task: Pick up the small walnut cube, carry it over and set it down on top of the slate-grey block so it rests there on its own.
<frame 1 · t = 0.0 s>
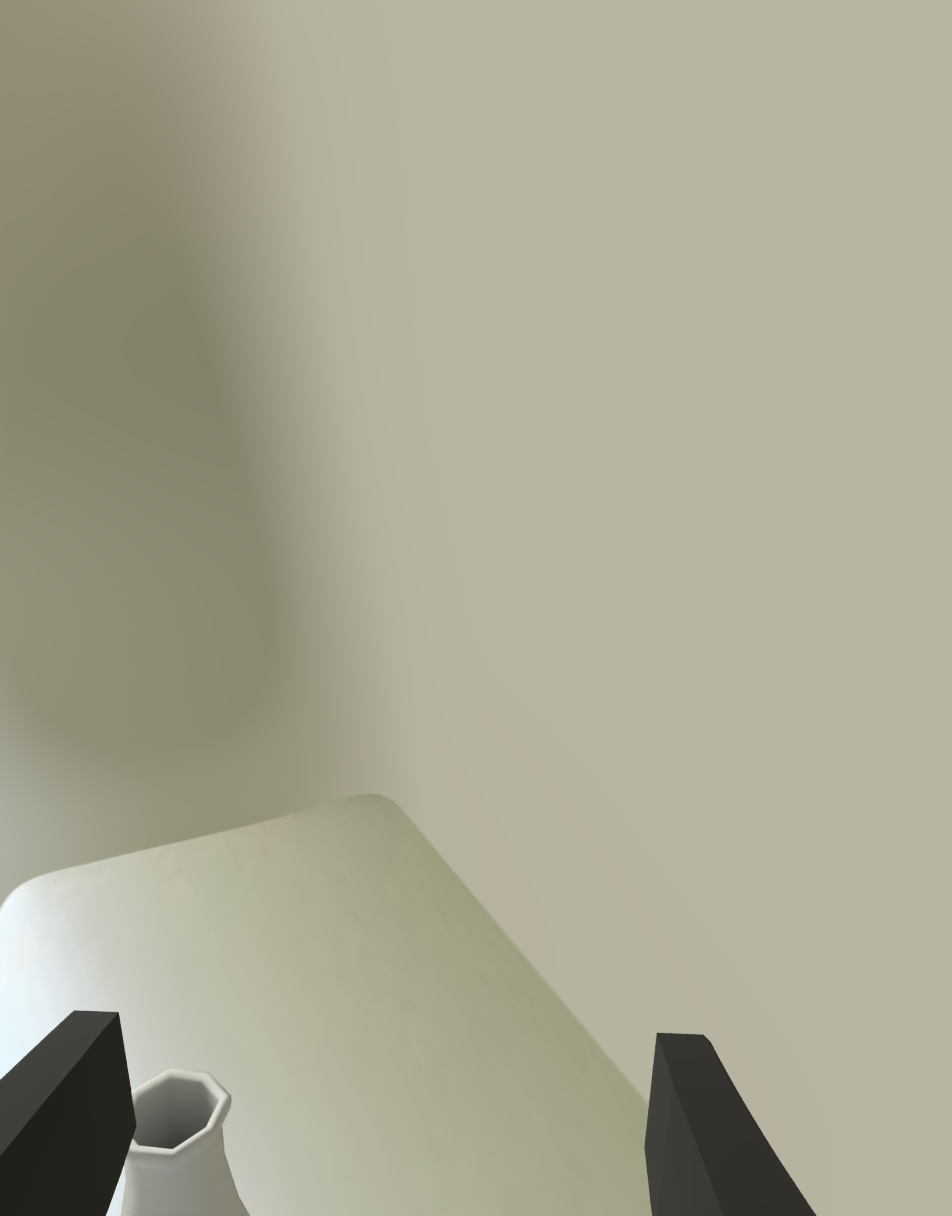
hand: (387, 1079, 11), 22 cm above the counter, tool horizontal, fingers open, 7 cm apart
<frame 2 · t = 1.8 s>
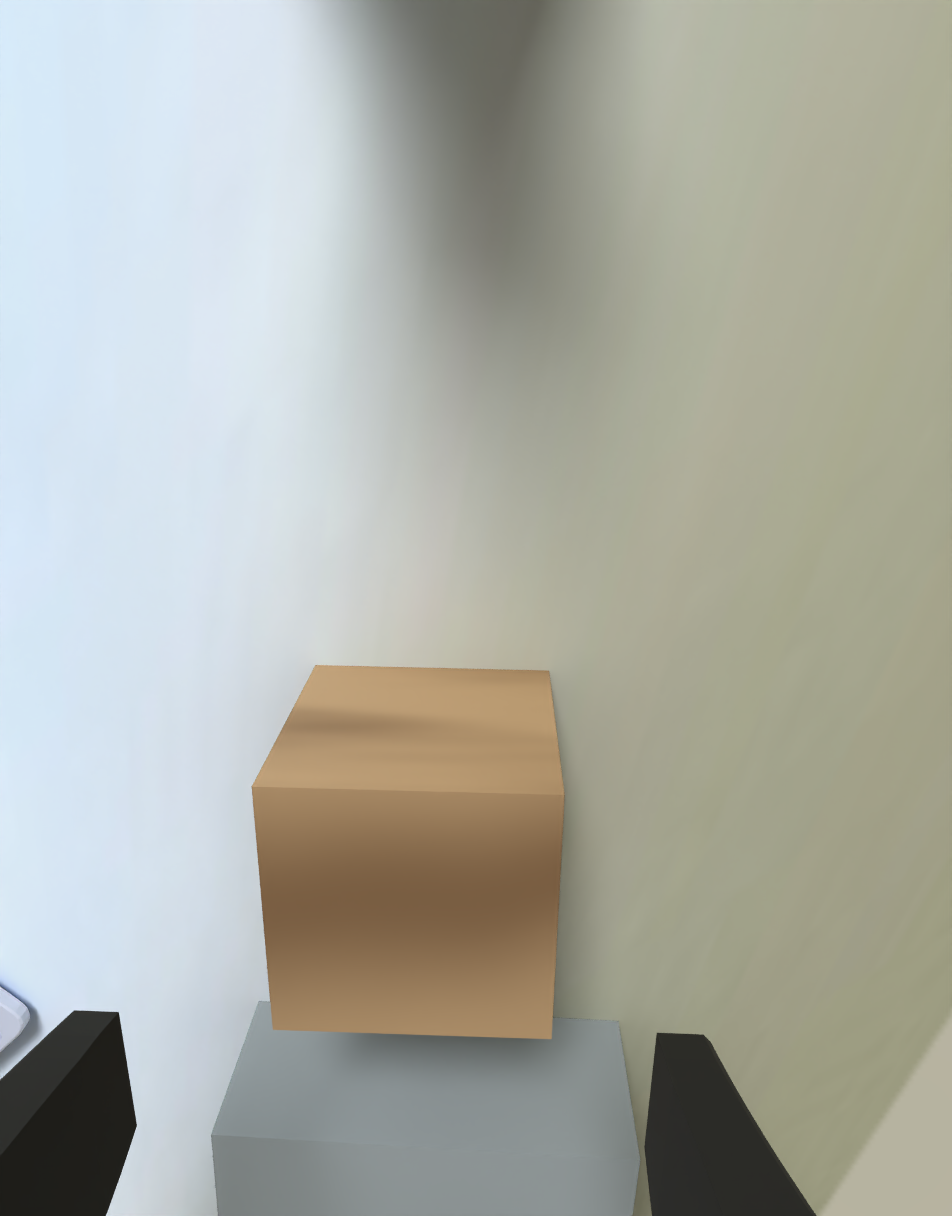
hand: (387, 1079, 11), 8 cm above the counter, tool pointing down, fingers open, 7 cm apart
walnut cube: (432, 769, 19), on the counter
slate block: (434, 1132, 23), on the counter
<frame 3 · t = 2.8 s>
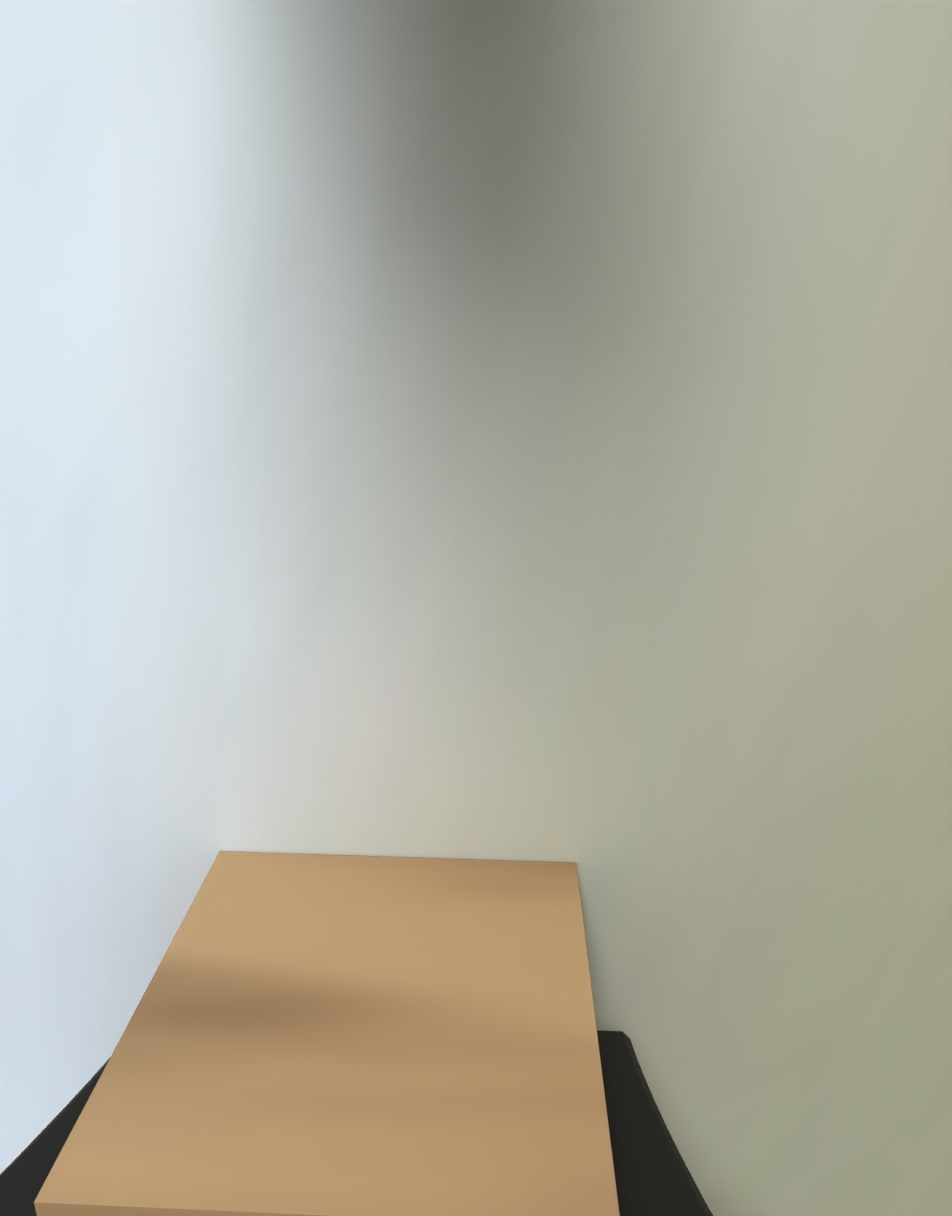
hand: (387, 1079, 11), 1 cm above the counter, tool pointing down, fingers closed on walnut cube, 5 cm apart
walnut cube: (399, 998, 13), on the counter, touching gripper
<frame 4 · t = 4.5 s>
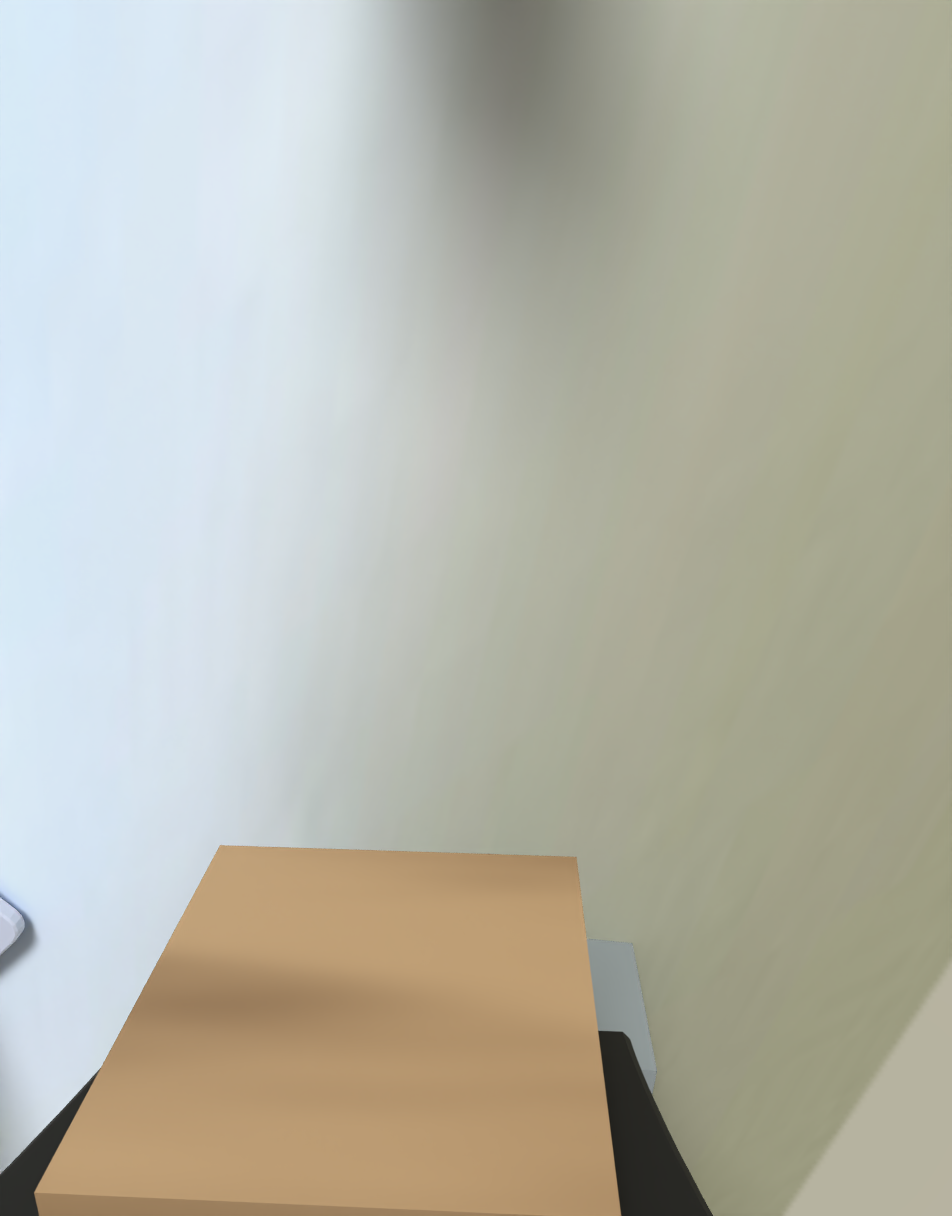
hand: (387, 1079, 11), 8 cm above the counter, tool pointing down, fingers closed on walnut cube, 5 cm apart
walnut cube: (400, 992, 13), point 7 cm above the counter, touching gripper
slate block: (436, 1055, 23), on the counter
when the fingers open (7 cm above the counter, at t = 6.3 s): walnut cube drops 2 cm, resting on slate block.
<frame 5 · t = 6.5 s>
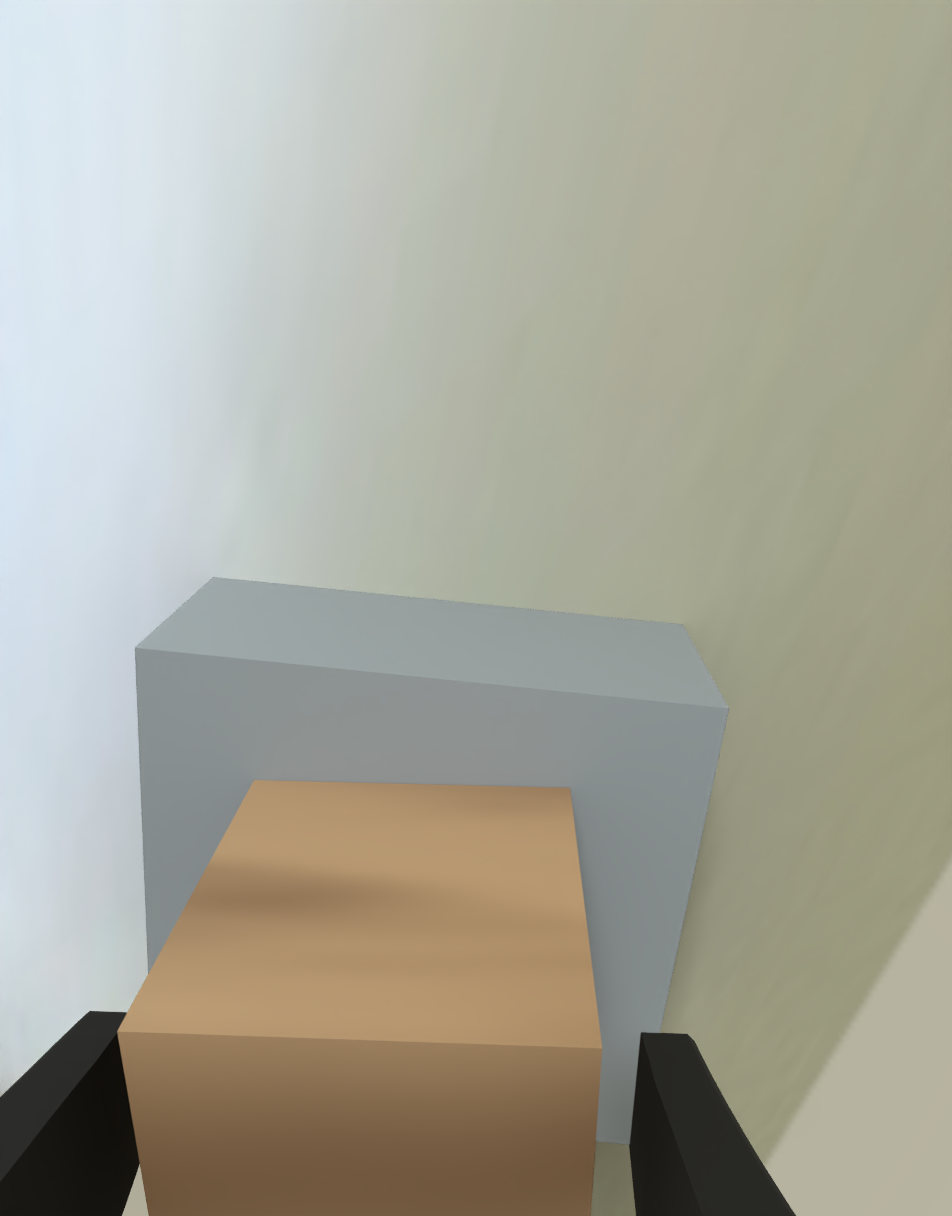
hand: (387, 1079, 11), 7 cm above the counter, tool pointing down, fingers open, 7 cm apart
walnut cube: (414, 914, 14), point 4 cm above the counter, touching slate block
slate block: (431, 794, 18), on the counter, touching walnut cube
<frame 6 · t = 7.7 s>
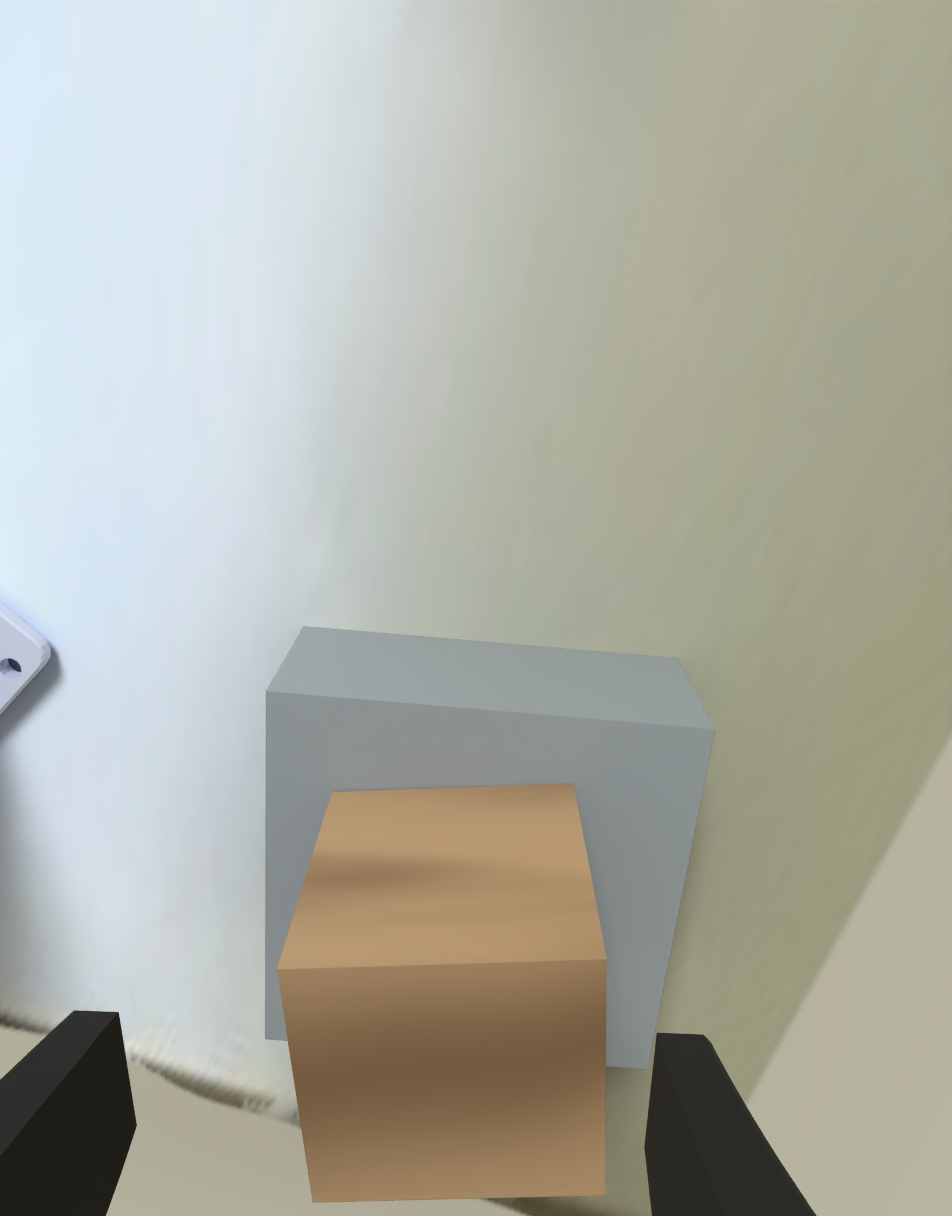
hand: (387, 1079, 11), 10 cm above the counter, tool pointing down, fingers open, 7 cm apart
walnut cube: (458, 888, 18), point 4 cm above the counter, touching slate block
slate block: (475, 796, 22), on the counter, touching walnut cube
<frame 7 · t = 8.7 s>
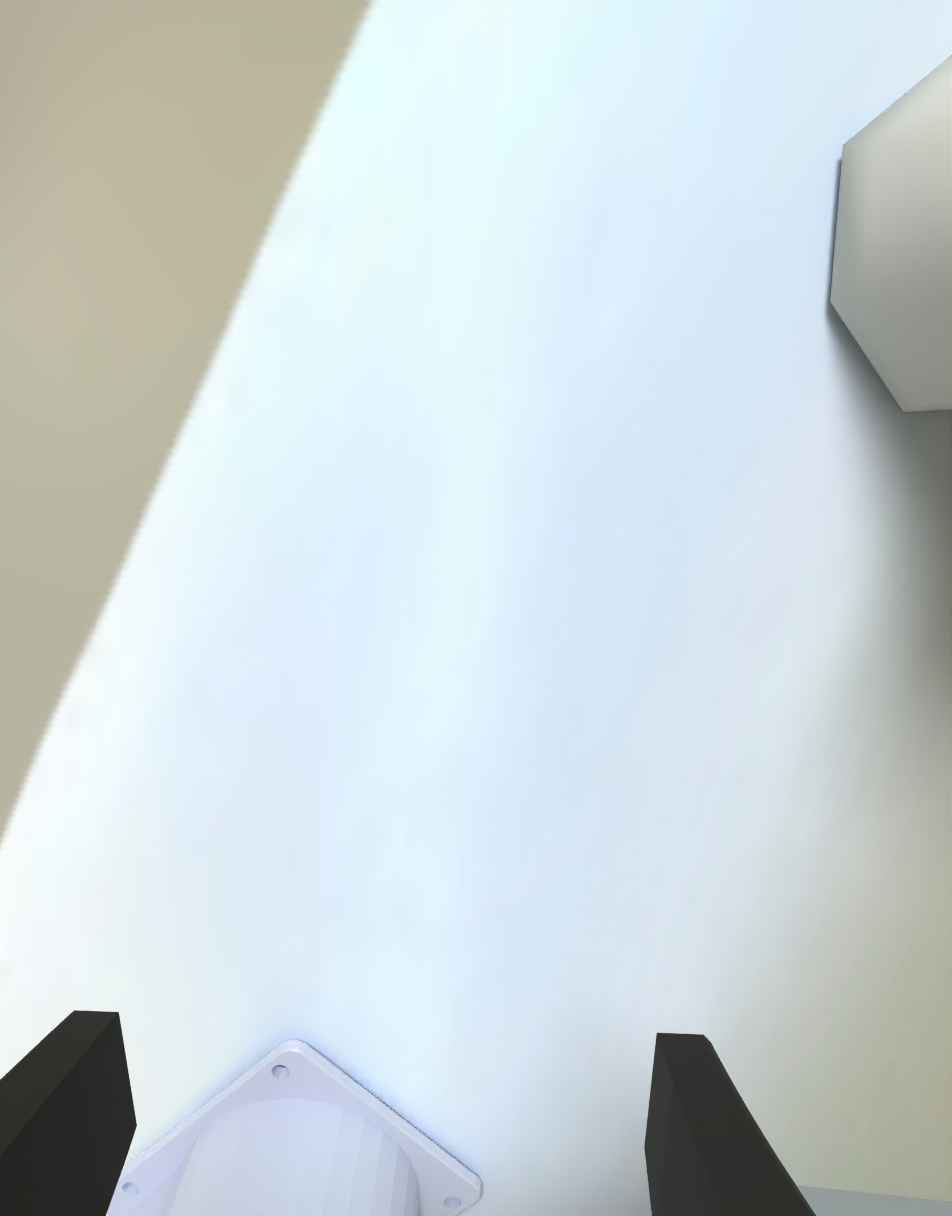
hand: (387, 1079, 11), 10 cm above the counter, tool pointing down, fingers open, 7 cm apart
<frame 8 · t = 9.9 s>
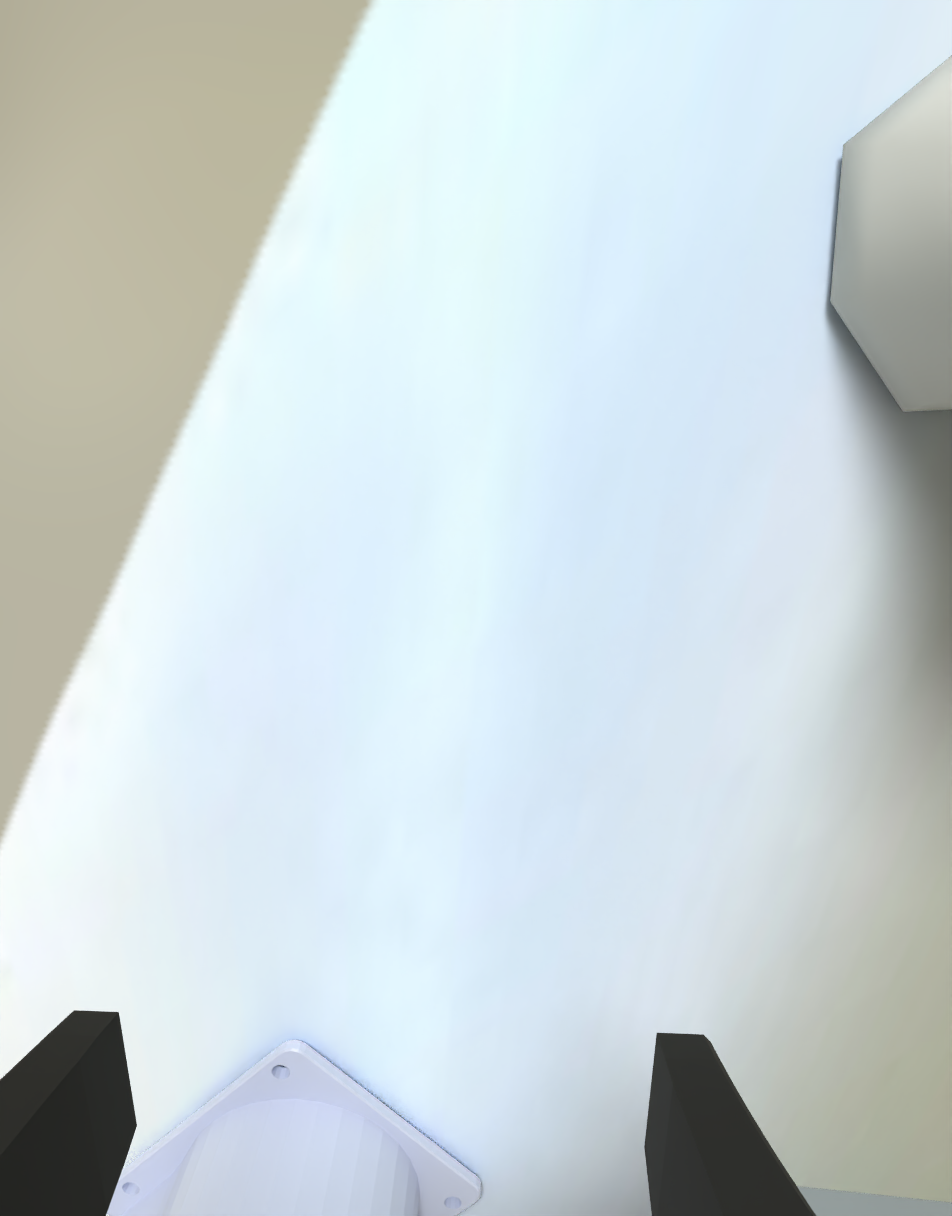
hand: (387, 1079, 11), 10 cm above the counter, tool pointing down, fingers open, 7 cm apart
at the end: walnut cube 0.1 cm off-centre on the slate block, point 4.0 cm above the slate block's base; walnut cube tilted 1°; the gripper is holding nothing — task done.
